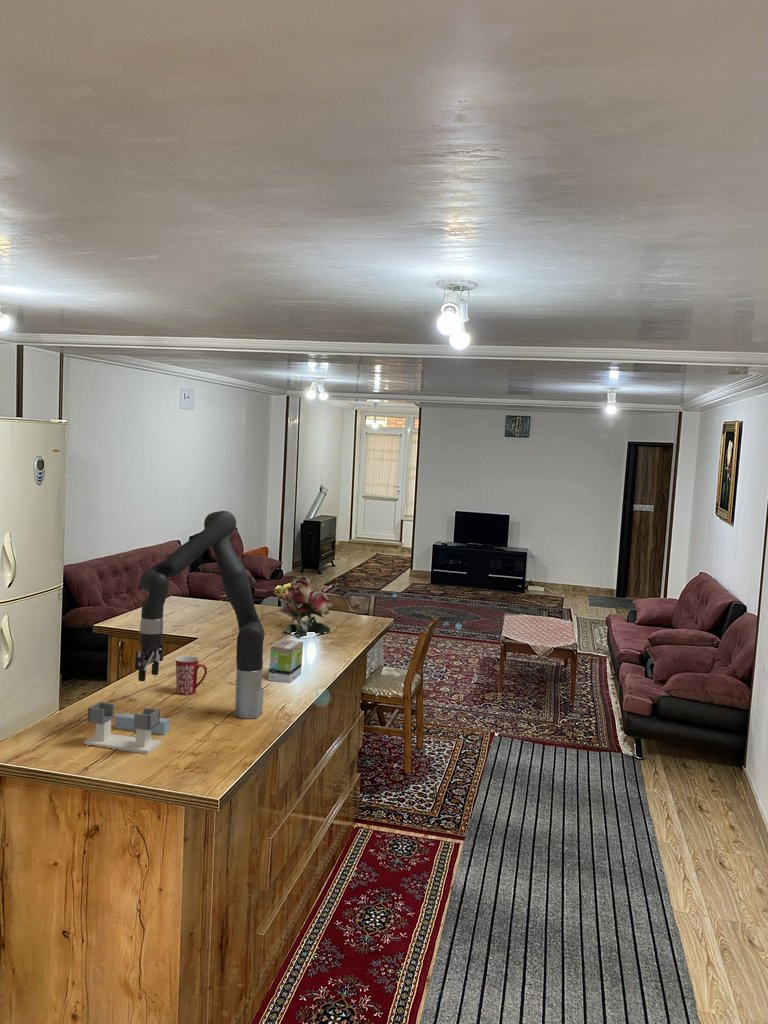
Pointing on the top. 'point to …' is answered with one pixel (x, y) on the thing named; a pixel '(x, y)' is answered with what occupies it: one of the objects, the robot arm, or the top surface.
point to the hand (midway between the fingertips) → (148, 677)
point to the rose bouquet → (305, 607)
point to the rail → (127, 723)
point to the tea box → (285, 660)
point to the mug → (188, 674)
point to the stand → (104, 738)
